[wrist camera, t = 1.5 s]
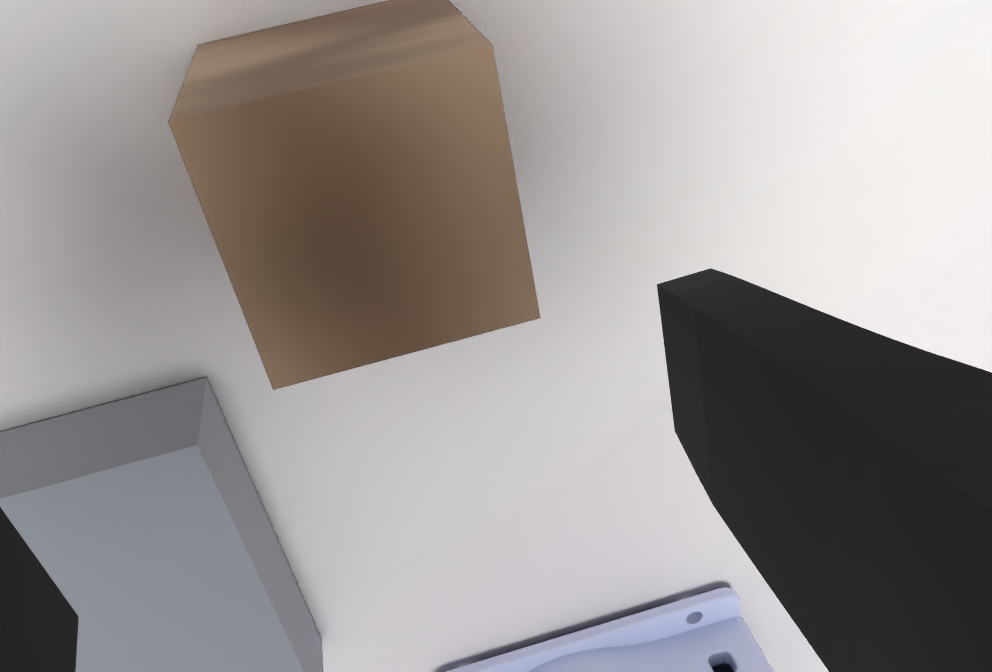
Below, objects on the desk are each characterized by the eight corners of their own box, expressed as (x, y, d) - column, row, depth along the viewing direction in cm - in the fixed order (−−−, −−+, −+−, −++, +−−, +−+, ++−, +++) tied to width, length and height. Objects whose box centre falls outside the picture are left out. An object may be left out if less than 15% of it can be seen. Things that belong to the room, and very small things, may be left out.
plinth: (206, 376, 19) (197, 445, 17) (321, 639, 24) (325, 718, 22) (-216, 489, 18) (-281, 575, 16) (-9, 737, 23) (-38, 829, 21)
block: (436, -12, 16) (492, 44, 12) (481, 207, 19) (539, 317, 14) (198, 43, 16) (168, 121, 12) (274, 259, 18) (272, 389, 14)
